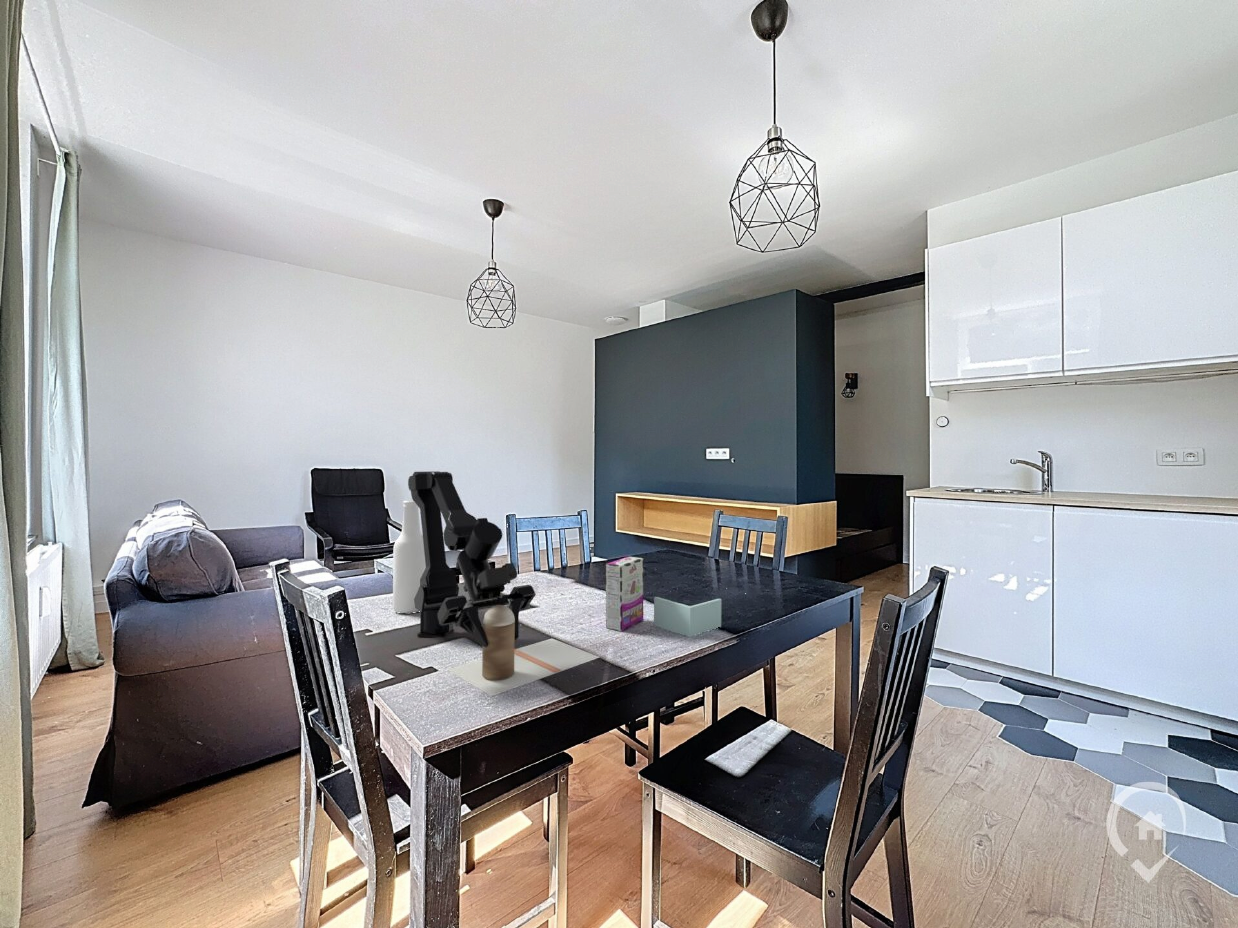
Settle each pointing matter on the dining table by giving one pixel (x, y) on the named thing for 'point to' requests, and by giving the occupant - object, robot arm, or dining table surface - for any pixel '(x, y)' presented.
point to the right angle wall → (687, 616)
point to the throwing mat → (526, 666)
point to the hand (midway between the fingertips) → (502, 642)
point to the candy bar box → (624, 593)
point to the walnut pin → (498, 643)
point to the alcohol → (408, 560)
